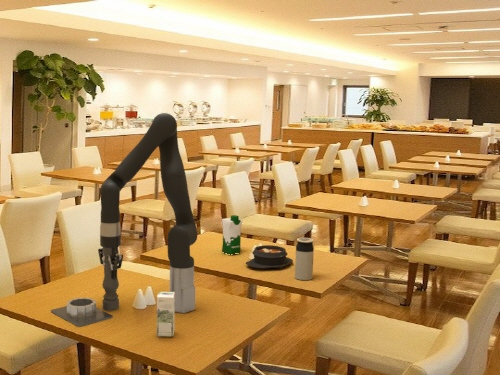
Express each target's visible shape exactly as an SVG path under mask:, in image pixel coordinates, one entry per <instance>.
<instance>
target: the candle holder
mask: <svg viewBox="0 0 500 375" xmlns="http://www.w3.org/2000/svg"><path fill="white" fill-rule="evenodd" d="M102 248H103V254H104V256H105V260H104V263H105V276H104V275H103V281H102V289H103V290H104V292H105V293H104V294H103V296H102V297H103V298H102V311H104V312H106V311H107V312H112V311H117V310H119V309H120V299H119V294H118V293H117V292H118V291H117V290H118V289H119V286H120V282H119V277H117V279H111V265H110V263H109V260H108V259H109V256H108V255H110V256H111V255H112V248H111V247H110V248H105V247H102ZM113 261H115V260H112V262H113ZM113 266H114V263H113Z"/></svg>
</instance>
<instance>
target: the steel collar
mask: <svg viewBox="0 0 500 375" xmlns="http://www.w3.org/2000/svg"><path fill="white" fill-rule="evenodd" d="M50 313H52V314H54V315H56V316H58V317H59V318H61V319H63V320H65V321H67V322H68V321H69V322H68V323H70V322H71V324H72V325H74V326H76V327H77V328H81V327H83V326H84V327H85V326H89V325H91V324H96V323H99V322H102V321H105V320H106V321H107V320H110V319H113V318H114V315H113V314H111V313H109V312H106V311H105V310H103V309H100V308H98V307H97V300H96V299H94V298H91V297H77V298H76V297H75V298H72V299H69V300H67V301H66V306H60V307H57V308H54V309H50Z"/></svg>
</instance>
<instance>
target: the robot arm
mask: <svg viewBox="0 0 500 375" xmlns="http://www.w3.org/2000/svg"><path fill="white" fill-rule="evenodd" d="M178 139H179V138H178V123H177V120H176V118H175V117H174V116H173V115H171V113H168V112H161V113H159V114H157V115H156V116H155V117H154V118H153V119H152V123H151V124H150V126H149V127H148V129H147V131H146V133H145V134H144V135H143V137H142V138H141V139H140V141H139V142H138V143H137V144H136V145H135V146H134V147H133V148H132V150H130V152H129V153H127V155H126V156H125V157H124V158H123V160H122V161H121V162H120V163H119V164H118V165H117V167H116V168H115V169H114V171H113V172H112V173H111V174H110V175H109V176H107V178H106V179H105V180H104V181H103V183H102V184H101V185H100V188H99V189H100V191H99V192H100V194H99V195H100V207H101V208H100V225H99V243H100V244H99V245H100V247H101V248H98V249H97V251H98V256H99V257H98V258H99V262H100V265H102V266H103V269H104V270H103V271H104V272H103V274H104V275H103V277H104V276H105V263H104V260H105V256H104V254H103V247H105V248H110V247H111V248H112V255H111V256H110V255H108V256H109V259H108V260H109V263H110V265H111V279H117V278H118V270H119V269H121V268H122V265H123V260H124V259H123V258H124V254H123V253H122V254H121V253H119V252H120V251H119V247H120V246H121V244H122V243H121V239H122V238H121V237H122V236H121V235H122V234H121V230H122V229H121V219H120V218H121V216H120V215H121V212H120V199H121V198H120V196H121V195H120V194H121V191H122V189H123V188H124V187H125V186H126V185H127V183H130V181H132V180H133V178H135V176H136V175H137V174H138V173H139V172H140V171H141V169H142V168H143V167H144V165H145V164H146V162H147V161H148V160H149V159H150V157H151V155H152V154H153V153H154V151H155V150H157V148H158V150H159V166H160V179H161V184H162V189H163V193H164V195H165V198H166V199H167V202H168V203H169V205H170V206H171V208H172V210H173V213H174V218H175V225H174V226H173V227H171V228H170V229H169V230H168V234H167V236H166V239H167V242H166V243H167V259H168V261H169V292H175V312H174V313H180V314H186V313H188V312H192V311H194V310H196V286H195V259H194V257H193V256H191V246H192V245H194V244H195V243H196V242H197V240H198V229H197V225H196V221H195V217H194V215H193V210H192V206H191V199H190V195H189V188H188V181H187V175H186V171H185V167H184V163H183V159H182V156H181V153H180V149H179V140H178ZM112 260H115V261H113V262H112ZM113 263H114V266H113Z"/></svg>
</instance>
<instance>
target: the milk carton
mask: <svg viewBox="0 0 500 375" xmlns="http://www.w3.org/2000/svg"><path fill="white" fill-rule="evenodd" d="M239 217H240V216H239V215H230V217H227V218H226V217H225V218H221V222H222V223H221V224H222V249H221V253H222V252H224V253H227V254H230V255H231V254H235V253H240V252H241V253H242V250H241V249H242V246H241V237H242V236H241V234H242V224H243V219H240V218H239Z"/></svg>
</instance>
